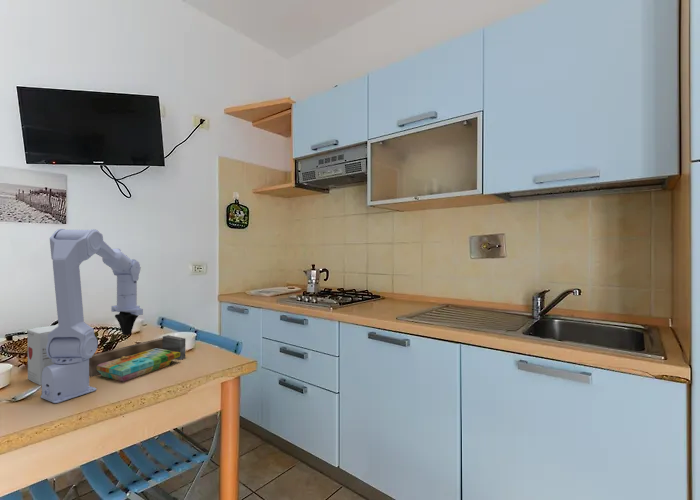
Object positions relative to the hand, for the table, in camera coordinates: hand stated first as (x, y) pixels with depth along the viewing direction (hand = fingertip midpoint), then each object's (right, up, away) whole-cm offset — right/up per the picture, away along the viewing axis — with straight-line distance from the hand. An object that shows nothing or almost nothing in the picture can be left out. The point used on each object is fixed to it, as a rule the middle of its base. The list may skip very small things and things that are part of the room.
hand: (126, 334), depth 120 cm
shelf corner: (+7, -10, -4) cm, 13 cm away
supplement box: (-13, -10, -15) cm, 22 cm away
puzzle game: (+9, -10, -7) cm, 15 cm away
